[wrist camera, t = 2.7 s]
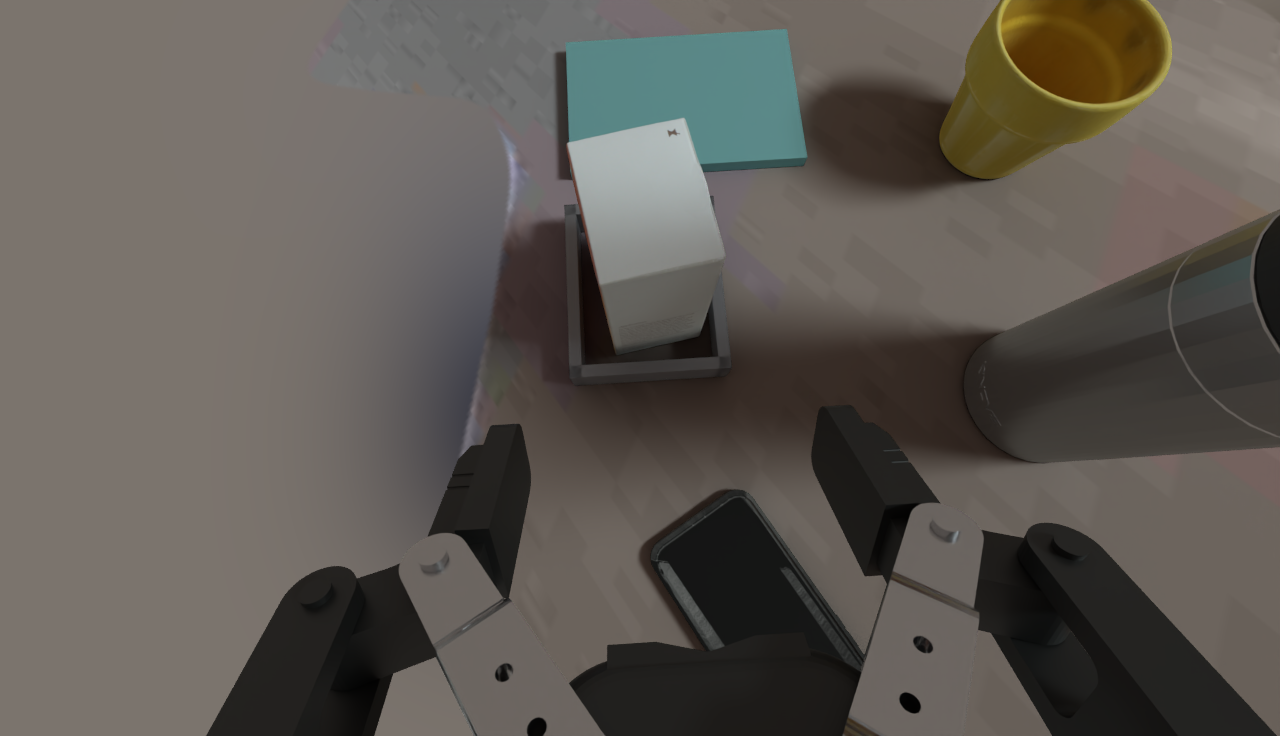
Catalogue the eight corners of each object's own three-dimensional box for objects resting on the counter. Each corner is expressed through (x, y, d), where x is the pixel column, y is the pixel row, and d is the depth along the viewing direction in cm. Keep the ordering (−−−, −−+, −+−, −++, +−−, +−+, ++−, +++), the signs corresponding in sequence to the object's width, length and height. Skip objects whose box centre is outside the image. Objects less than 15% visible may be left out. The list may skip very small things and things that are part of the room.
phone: (790, 782, 29) (643, 553, 32) (784, 771, 30) (643, 550, 33) (895, 696, 30) (743, 481, 33) (886, 689, 31) (740, 481, 34)
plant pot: (893, 169, 39) (973, 66, 30) (938, 70, 41) (1025, -56, 32) (1024, 224, 38) (1151, 134, 28) (1063, 118, 40) (1193, 2, 31)
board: (783, 39, 42) (786, 29, 41) (803, 165, 39) (807, 157, 38) (567, 52, 42) (565, 42, 41) (572, 180, 39) (570, 172, 38)
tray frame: (709, 214, 38) (713, 195, 36) (725, 376, 35) (731, 367, 33) (569, 223, 38) (564, 205, 36) (574, 385, 35) (569, 377, 33)
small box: (590, 257, 38) (562, 138, 25) (673, 238, 38) (687, 112, 25) (614, 359, 36) (597, 286, 23) (701, 339, 36) (731, 256, 23)
